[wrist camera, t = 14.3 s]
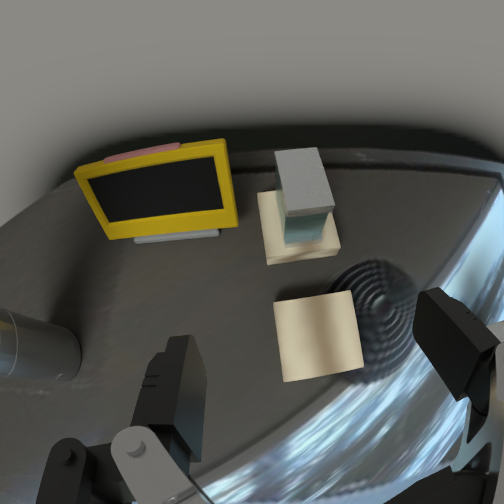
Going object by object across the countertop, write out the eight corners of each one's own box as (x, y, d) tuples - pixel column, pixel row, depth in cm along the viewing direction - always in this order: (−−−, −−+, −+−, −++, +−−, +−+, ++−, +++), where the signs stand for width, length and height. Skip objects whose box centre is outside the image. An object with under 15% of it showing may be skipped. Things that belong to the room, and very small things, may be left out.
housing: (284, 248, 38) (287, 211, 29) (275, 197, 41) (274, 151, 32) (321, 243, 38) (335, 205, 28) (309, 193, 41) (316, 147, 31)
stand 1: (267, 264, 40) (266, 257, 38) (258, 203, 44) (257, 193, 41) (336, 254, 40) (340, 246, 37) (321, 195, 44) (323, 185, 41)
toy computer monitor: (119, 248, 43) (63, 199, 29) (125, 206, 46) (79, 150, 31) (241, 237, 42) (224, 171, 28) (239, 192, 45) (224, 119, 31)
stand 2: (283, 380, 34) (284, 382, 32) (273, 306, 38) (273, 302, 35) (357, 366, 34) (363, 366, 31) (345, 295, 38) (350, 290, 35)
